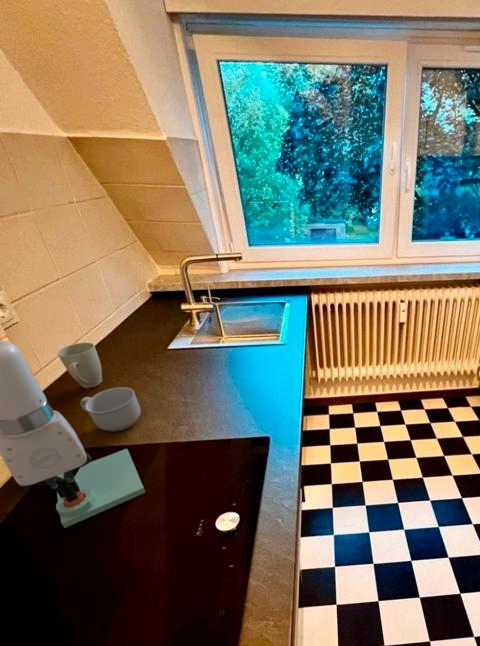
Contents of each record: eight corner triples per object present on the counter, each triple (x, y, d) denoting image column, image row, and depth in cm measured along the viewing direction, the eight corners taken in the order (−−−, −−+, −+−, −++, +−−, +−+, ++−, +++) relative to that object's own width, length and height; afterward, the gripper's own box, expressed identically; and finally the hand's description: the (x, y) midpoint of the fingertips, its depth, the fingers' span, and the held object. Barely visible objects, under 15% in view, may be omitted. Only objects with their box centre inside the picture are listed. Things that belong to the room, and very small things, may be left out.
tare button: (67, 510, 72) (63, 505, 71) (66, 501, 74) (62, 495, 73) (86, 503, 73) (82, 497, 72) (84, 493, 75) (80, 488, 74)
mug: (66, 389, 115) (47, 353, 108) (99, 375, 122) (84, 340, 115) (85, 399, 110) (67, 361, 103) (119, 383, 117) (104, 347, 110)
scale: (64, 528, 71) (57, 517, 70) (57, 480, 82) (50, 470, 80) (145, 492, 78) (140, 482, 77) (129, 453, 89) (124, 442, 87)
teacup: (154, 416, 101) (143, 390, 97) (120, 441, 93) (107, 414, 88) (113, 407, 105) (102, 382, 101) (77, 431, 97) (63, 404, 93)
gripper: (-38, 447, 56) (24, 529, 66) (80, 410, 64) (120, 489, 74) (-35, 423, 61) (23, 503, 71) (75, 392, 69) (113, 468, 79)
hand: (72, 496), depth 73 cm, fingers closed
